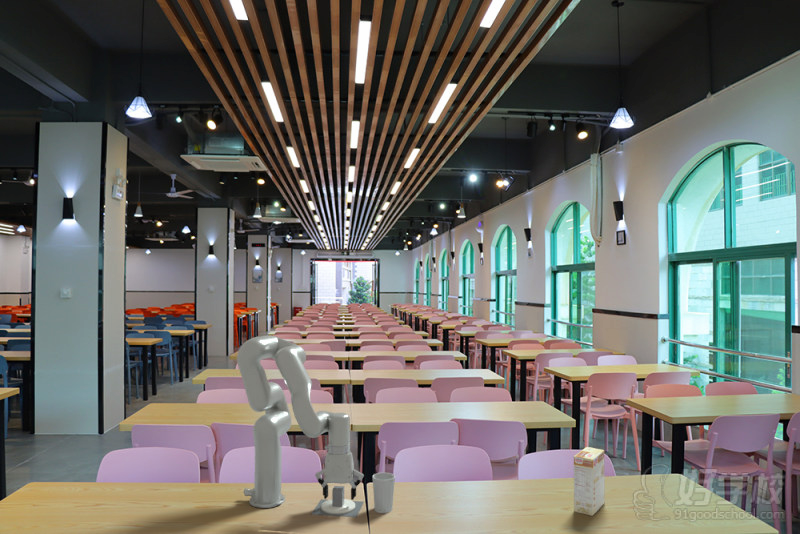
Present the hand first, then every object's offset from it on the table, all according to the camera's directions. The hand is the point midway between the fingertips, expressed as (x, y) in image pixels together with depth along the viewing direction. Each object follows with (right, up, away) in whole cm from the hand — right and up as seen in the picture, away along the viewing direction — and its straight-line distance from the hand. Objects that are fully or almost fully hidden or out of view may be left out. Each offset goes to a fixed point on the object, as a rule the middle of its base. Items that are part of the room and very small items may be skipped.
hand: (339, 498), depth 202 cm
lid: (0, -4, 0) cm, 4 cm away
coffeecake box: (+90, -5, +4) cm, 90 cm away
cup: (+16, -4, -1) cm, 16 cm away
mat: (0, -4, 0) cm, 4 cm away
